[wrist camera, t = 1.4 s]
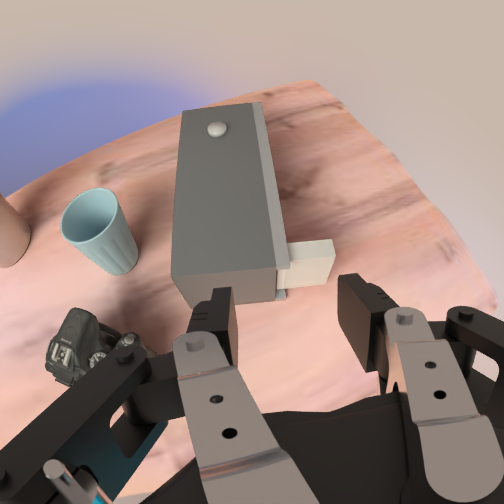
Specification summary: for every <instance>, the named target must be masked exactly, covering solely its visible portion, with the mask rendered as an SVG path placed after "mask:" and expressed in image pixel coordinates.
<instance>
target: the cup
mask: <svg viewBox="0 0 504 504" xmlns="http://www.w3.org/2000/svg"><path fill="white" fill-rule="evenodd" d="M60 229H61V233H62V235H63V237H64V238H65V239H66V240H67V241H68V242H69V243H70V244H72V245H73V246H74V247H75V248H77V249H78V250H79V251H81V252H82V253H83V254H84V255H86V256H87V257H88V258H89V259H91V260H92V261H93V262H95V263H96V264H97V265H98V266H100V267H101V268H102V269H104V270H105V271H106V272H108V273H110V274H112V275H123V274H125V273H127V272H129V271H130V270H131V269H132V268H133V267H134V266H135V264H136V262H137V260H138V256H139V253H138V248H137V245H136V243H135V241H134V238H133V236H132V234H131V231H130V229H129V227H128V224H127V222H126V220H125V217H124V215H123V212H122V210H121V207H120V205H119V202H118V200H117V197H116V196H115V194H114V193H113V192H112V191H110V190H108V189H106V188H93V189H90V190H87V191H85V192H83V193H81V194H80V195H78V196H77V197H75V198H74V199H73V200H72V201H71V202H70V203H69V205H68V206H67V208H66V209H65V211H64V213H63V215H62V218H61V223H60Z"/></svg>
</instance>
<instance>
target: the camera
mask: <svg viewBox="0 0 504 504" xmlns="http://www.w3.org/2000/svg"><path fill="white" fill-rule="evenodd" d="M130 345H134V346H140V347H143V348H144V349H145V350H146V351H147V354H148V358H150V357H154V356H158V355H157V354H156V353H155V352H154V351H153V350H151V349H150V348H149V347H146V346H144V343H143V340H142V338H141V337H140V336H139V335H137V334H136V333H133V332H130V333H126V334H124V335H123V336H122V335H121V334H120V333H119V332H117V331H116V330H114V329H112V328H110V327H108V326H106V325H104V324H101V323H99V322H98V320H97V318H96V317H95V316H94V315H93V314H92V313H90V312H88V311H86V310H83V309H80V308H72V309H71V310H70V311H69V313H68V314H67V316H66V318H65V320H64V322H63V323H62V325H61V327H60V329H59V332H58V334H57V335H56V336H54V337H53V339H52V340H50V342H49V345H48V348H47V353H46V359H45V360H46V364H45V368H46V370H47V371H49V372H51V373H53V376H54V377H56V379H55V381H57V382H59V383H62V384H64V385H66V386H68V387H71V386H72V385H73V384H74V383H76V382H77V381H78V380H79V379H80V378H81V377H82V376H83V375H85V374H86V373H87V372H88V371H89V370H90V369H91V368H93V367H94V366H95V365H96V364H97V363H98V362H99V361H100V360H102V359H103V358H104V357H105V356H106V355H107V354H108V353H110V352H111V351H113V350H115V349H117V348H120V347H123V346H130Z"/></svg>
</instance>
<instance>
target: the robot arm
mask: <svg viewBox="0 0 504 504" xmlns="http://www.w3.org/2000/svg"><path fill="white" fill-rule="evenodd" d="M30 236H31V230H30V227H29V225H28V224H27V223H26V222H25V221H24V219H23V218H22V217H21V216H20V215H19V214H18V213H17V212H16V210H15V209H14V208H13V207H12V206H11V205H10V204H9V203H8V201H7V200H6V199H5V198H4V197H3V196H2V194H1V193H0V267H3V268H5V267H9V266H11V265H13V264H15V263H16V262H17V261H18V260H19V259H20V258H21V257H22V255H23V254H24V252H25V251H26V249H27V247H28V244H29V241H30ZM337 311H338V321H339V324H340V327H341V329H342V330H343V332H344V334H345V336H346V337H347V339H348V341H349V343H350V345H351V347H352V348H353V350H354V352H355V354H356V356H357V357H358V359H359V361H360V363H361V365H362V367H363V369H364V370H365V372H366V373H367V372H372V371H378V376H377V394H378V395H377V396H373V397H368V398H364V399H362V400H360V401H357V402H355V403H352V404H350V405H347V406H345V407H342V408H340V409H337V410H334V411H331V412H298V411H283V412H274V413H264V414H261V412H260V410H259V409H258V407H257V405H256V403H255V401H254V399H253V397H252V395H251V394H250V392H249V390H248V388H247V386H246V384H245V382H244V380H243V378H242V376H241V374H240V372H239V370H238V328H237V320H236V312H235V304H234V296H233V289H232V286H231V287H220V288H213V292H212V296H211V300H209V301H201V302H200V303H198V304H197V305H196V306H195V307H194V309H193V312H192V316H191V319H190V320H191V321H190V322H189V325H188V329H187V332H186V334H184V335H181V336H180V337H178V338H177V339H175V341H174V342H173V344H172V348H173V351H172V352H169V353H167V354H163V355H159V356H154V357H150V358H148V354H147V351H146V350H145V349H144V348H143V347H140V346H134V345H130V346H123V347H120V348H117V349H115V350H113V351H111V352H110V353H108V354H107V355H106V356H105V357H104V358H103V359H102V360H100V361H99V362H98V363H97V364H96V365H95V366H94V367H93V368H91V369H90V370H89V371H88V372H87V373H86V374H85V375H83V376H82V377H81V378H80V379H79V380H78V381H77V382H76V383H74V384H73V385H72V386H71V387H70V388H69V389H68V390H67V391H65V392H64V393H63V394H62V395H61V396H60V397H59V398H58V399H56V400H55V401H54V402H53V403H52V404H51V405H50V406H49V407H48V408H46V409H45V410H44V411H43V412H42V413H41V414H40V415H39V416H38V417H36V418H35V419H34V420H33V421H32V422H31V423H30V424H29V425H28V426H27V427H25V428H24V429H23V430H22V431H21V432H20V433H19V434H18V435H17V436H16V437H14V438H13V439H12V440H11V441H10V442H9V443H8V444H7V445H6V446H5V447H4V448H2V449H1V450H0V504H113V503H112V502H113V501H114V500H115V498H116V497H117V495H118V494H119V493H120V491H121V490H122V489H123V487H124V486H125V484H126V483H127V482H128V480H129V479H130V478H131V476H132V475H133V473H134V472H135V471H136V469H137V468H138V466H139V465H140V464H141V462H142V461H143V459H144V458H145V457H146V455H147V454H148V452H149V451H150V449H151V448H152V447H153V445H154V444H155V442H156V441H157V440H158V438H159V437H160V435H161V434H162V432H163V431H164V430H165V428H166V427H167V425H168V420H171V419H176V418H180V417H184V416H186V420H187V424H188V428H189V432H190V436H191V440H192V444H193V448H194V452H195V455H196V457H195V458H193V459H192V460H191V461H190V462H189V463H188V464H187V465H186V466H184V467H183V468H182V469H181V470H180V471H179V472H177V473H176V474H175V475H174V476H173V477H172V478H170V479H169V480H168V481H167V482H166V483H164V484H163V485H162V486H161V487H160V488H158V489H157V490H156V491H155V492H153V493H152V494H151V495H150V496H148V497H147V498H146V499H145V500H143V502H141V503H139V504H504V322H503V321H501V320H499V319H497V318H495V317H493V316H490V315H488V314H486V313H484V312H482V311H480V310H477V309H475V308H472V307H467V306H457V307H453V308H451V309H449V310H448V312H447V317H446V321H427V320H426V318H425V315H424V314H423V313H422V312H421V311H419V310H417V309H414V308H410V307H399V306H398V305H397V304H396V303H395V302H394V301H393V300H392V299H391V298H390V297H389V296H388V295H387V294H385V292H384V291H383V290H382V289H381V288H380V287H379V286H376V285H374V284H372V283H366V282H365V281H364V280H363V279H362V278H361V277H360V276H359V274H357V273H353V274H345V275H339V277H338V310H337ZM476 351H480V352H481V353H483V354H485V355H486V356H488V357H490V358H492V359H494V360H495V361H496V362H497V364H498V366H499V375H498V378H497V380H496V382H494V381H493V380H491V379H489V378H488V377H486V376H485V375H483V374H481V373H480V372H478V371H476V370H475V369H473V368H472V365H473V362H474V358H475V355H476ZM121 405H122V408H123V410H124V413H123V414H122V415H121V416H120V418H119V419H118V420H117V421H116V422H115V423H114V424H113V426H112V427H111V428H110V420H111V417H112V415H113V414H114V413H115V412H116V411H117V409H118V408H119V407H120V406H121Z"/></svg>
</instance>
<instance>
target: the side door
mask: <svg viewBox="0 0 504 504" xmlns="http://www.w3.org/2000/svg"><path fill="white" fill-rule="evenodd" d="M287 248H288V254H289V260H290V269H284V270H276V289H277V290H278V289H288V288H297V287H306V286H314V285H323V284H326V281H327V278H328V276H329V273H330V270H331V268H332V265H333V263H334V260H335V257H336V254H335V250H334V246H333V242H332V239H325V240H315V241H304V242H294V243H287Z"/></svg>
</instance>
